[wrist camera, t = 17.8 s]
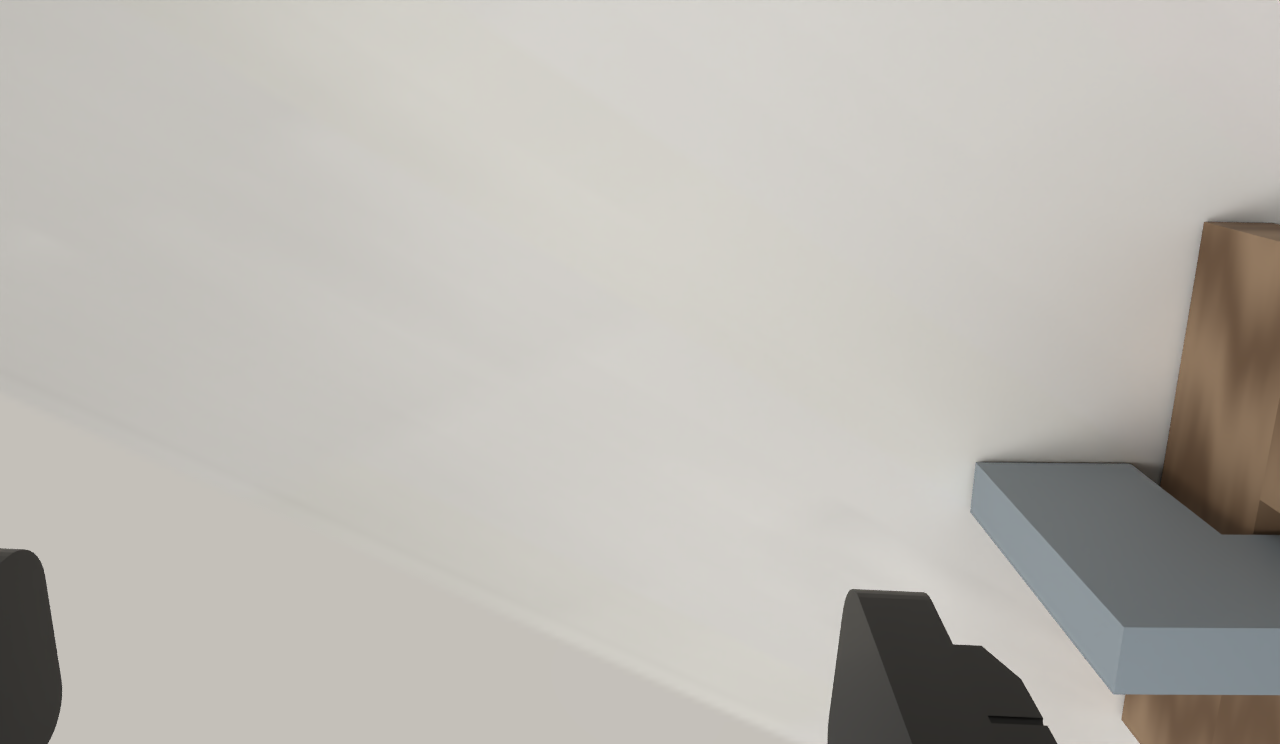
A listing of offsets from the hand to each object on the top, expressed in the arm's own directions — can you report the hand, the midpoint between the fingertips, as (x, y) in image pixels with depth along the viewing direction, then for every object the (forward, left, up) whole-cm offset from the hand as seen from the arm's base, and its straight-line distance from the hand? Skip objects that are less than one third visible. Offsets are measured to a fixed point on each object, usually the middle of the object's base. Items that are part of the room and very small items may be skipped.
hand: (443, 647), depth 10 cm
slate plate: (+9, +23, -27) cm, 37 cm away
